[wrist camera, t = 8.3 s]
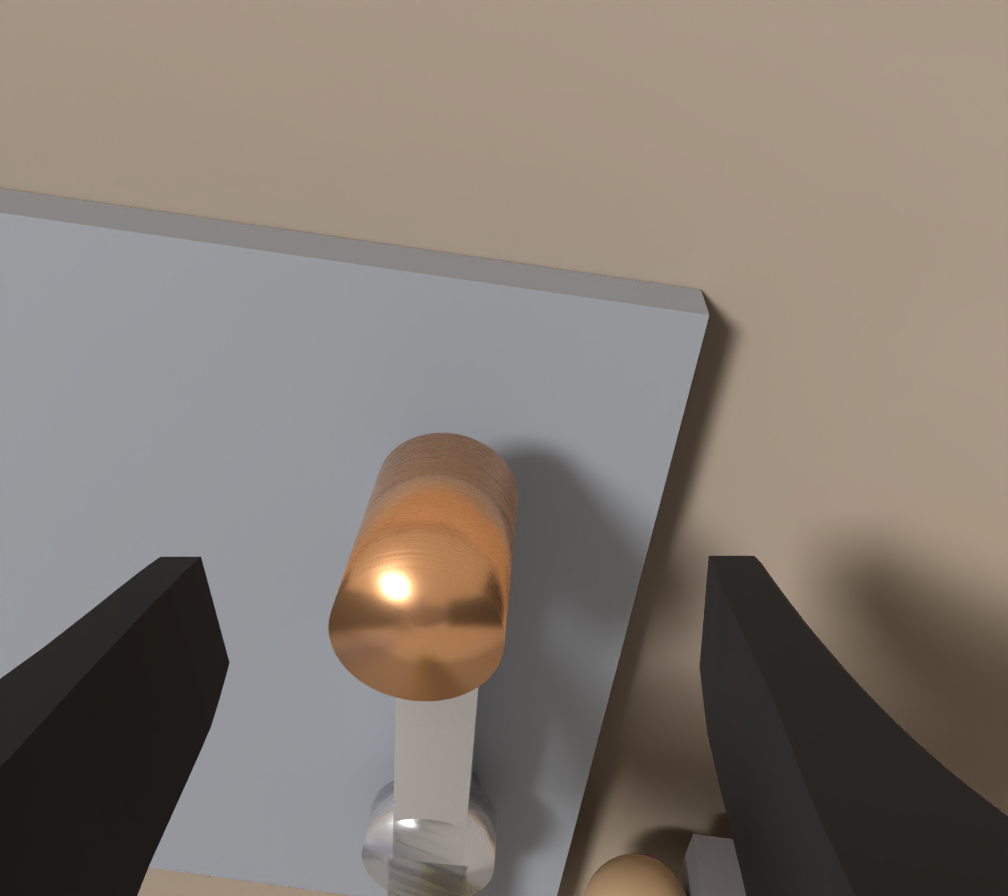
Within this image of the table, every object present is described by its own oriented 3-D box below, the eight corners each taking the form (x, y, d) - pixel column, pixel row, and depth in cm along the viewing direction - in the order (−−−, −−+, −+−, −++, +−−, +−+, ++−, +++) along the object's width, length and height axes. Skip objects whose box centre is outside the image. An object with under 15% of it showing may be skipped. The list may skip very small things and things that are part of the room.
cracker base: (734, 907, 26) (757, 1051, 23) (26, 810, 26) (-53, 940, 23) (986, 330, 17) (1086, 434, 13) (-117, 171, 17) (-286, 237, 13)
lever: (486, 922, 24) (469, 1132, 20) (371, 909, 24) (330, 1117, 20) (543, 406, 16) (534, 580, 12) (371, 390, 16) (302, 556, 12)
